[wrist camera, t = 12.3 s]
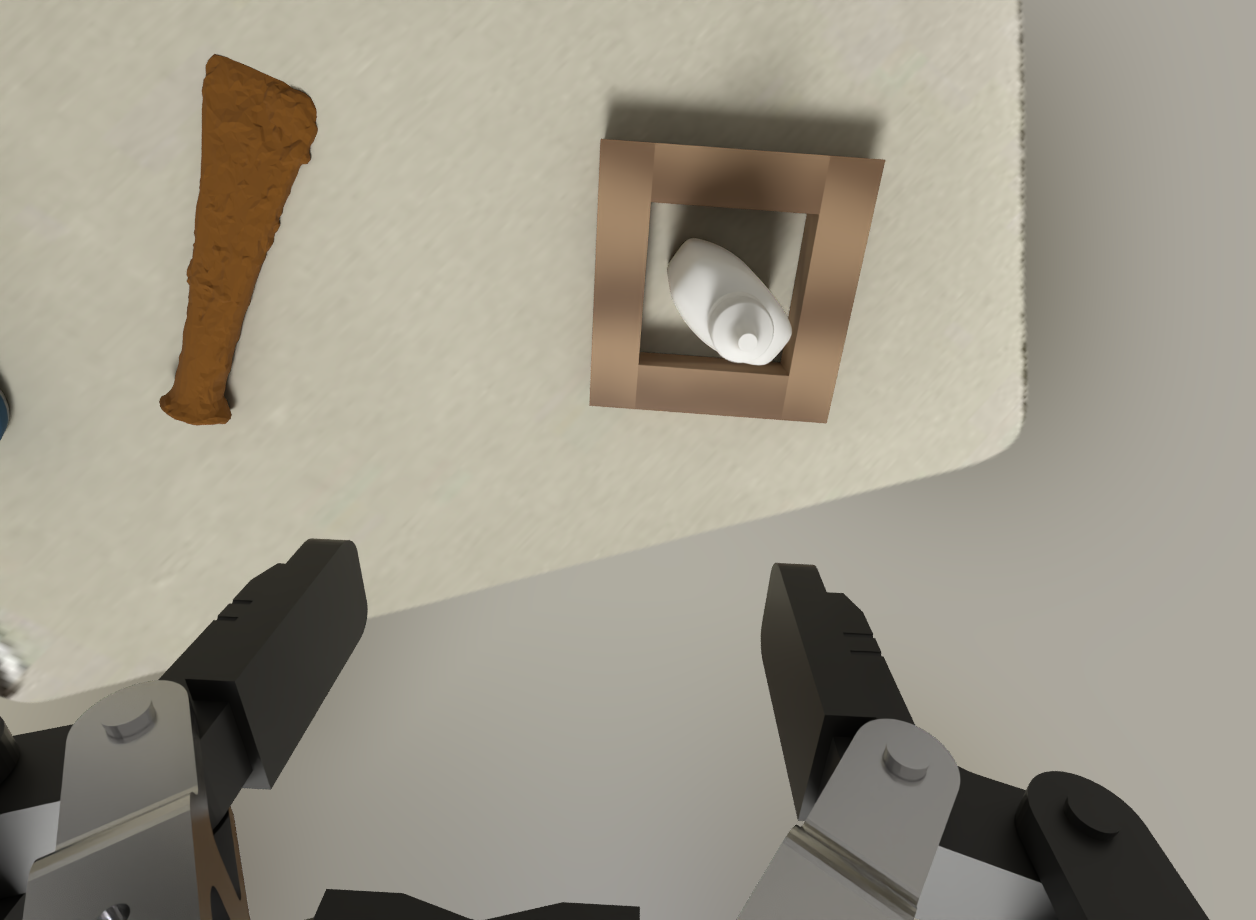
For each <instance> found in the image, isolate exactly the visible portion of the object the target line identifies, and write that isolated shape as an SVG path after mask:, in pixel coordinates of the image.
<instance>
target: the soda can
mask: <svg viewBox="0 0 1256 920" xmlns="http://www.w3.org/2000/svg"><path fill="white" fill-rule="evenodd" d="M9 419H10V411H9V406H8V403H7V400H6V398H5V396H4V394H3V392H2V391H1V389H0V440H1V438H2V436H3V434H4V432H5V430H6V428H7V426H8V423H9Z"/></svg>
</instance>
